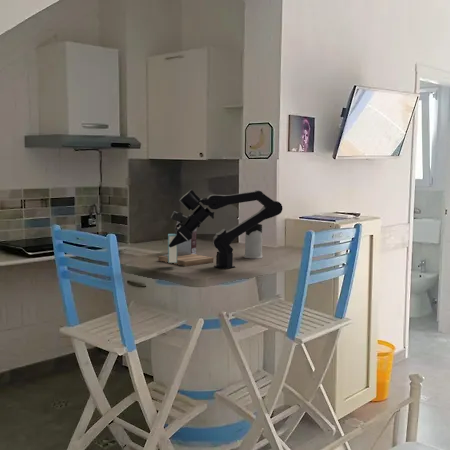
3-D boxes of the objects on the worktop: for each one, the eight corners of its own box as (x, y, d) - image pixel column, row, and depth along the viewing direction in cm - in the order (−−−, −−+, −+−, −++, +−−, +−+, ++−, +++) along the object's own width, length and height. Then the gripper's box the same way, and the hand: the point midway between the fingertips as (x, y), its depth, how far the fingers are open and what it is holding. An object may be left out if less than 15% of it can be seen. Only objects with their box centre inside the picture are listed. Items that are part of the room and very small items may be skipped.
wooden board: (213, 262, 258) (213, 257, 258) (185, 266, 247) (185, 261, 247) (186, 257, 271) (186, 252, 271) (158, 260, 260) (158, 256, 260)
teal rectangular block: (176, 260, 247) (176, 233, 246) (177, 262, 240) (177, 235, 239) (167, 260, 246) (168, 233, 245) (168, 262, 240) (168, 235, 239)
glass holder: (247, 258, 270) (248, 225, 268) (237, 254, 283) (237, 222, 282) (265, 258, 273) (266, 225, 271) (254, 253, 286) (254, 222, 284)
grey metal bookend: (191, 254, 265) (191, 236, 265) (170, 257, 257) (170, 238, 256) (184, 253, 269) (184, 235, 268) (163, 255, 261) (163, 237, 260)
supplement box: (175, 253, 282) (176, 220, 280) (181, 252, 286) (181, 219, 284) (191, 255, 277) (191, 221, 276) (196, 253, 282) (197, 220, 280)
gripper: (181, 202, 251) (154, 228, 250) (184, 206, 232) (155, 234, 232) (199, 221, 253) (173, 247, 252) (204, 226, 234) (175, 254, 234)
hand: (169, 245), depth 243 cm, fingers closed on teal rectangular block, 6 cm apart
